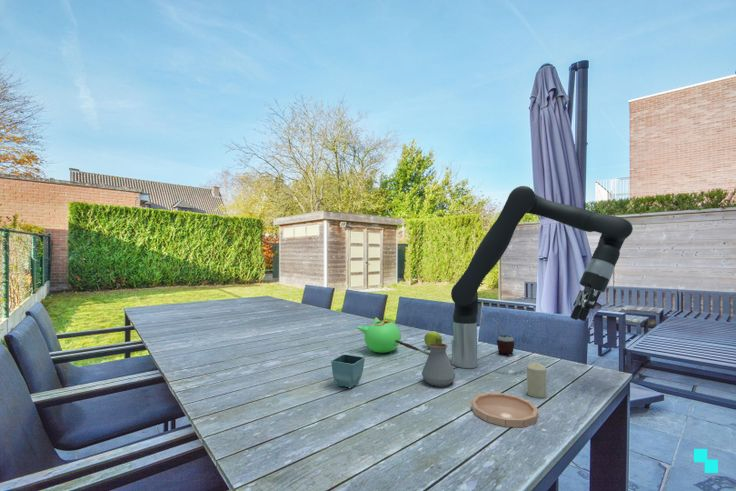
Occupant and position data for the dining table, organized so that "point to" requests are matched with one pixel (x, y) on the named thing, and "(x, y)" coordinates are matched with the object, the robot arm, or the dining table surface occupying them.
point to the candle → (536, 380)
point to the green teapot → (381, 336)
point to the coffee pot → (435, 364)
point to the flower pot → (347, 369)
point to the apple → (432, 338)
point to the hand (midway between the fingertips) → (577, 319)
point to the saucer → (504, 410)
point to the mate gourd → (505, 344)
